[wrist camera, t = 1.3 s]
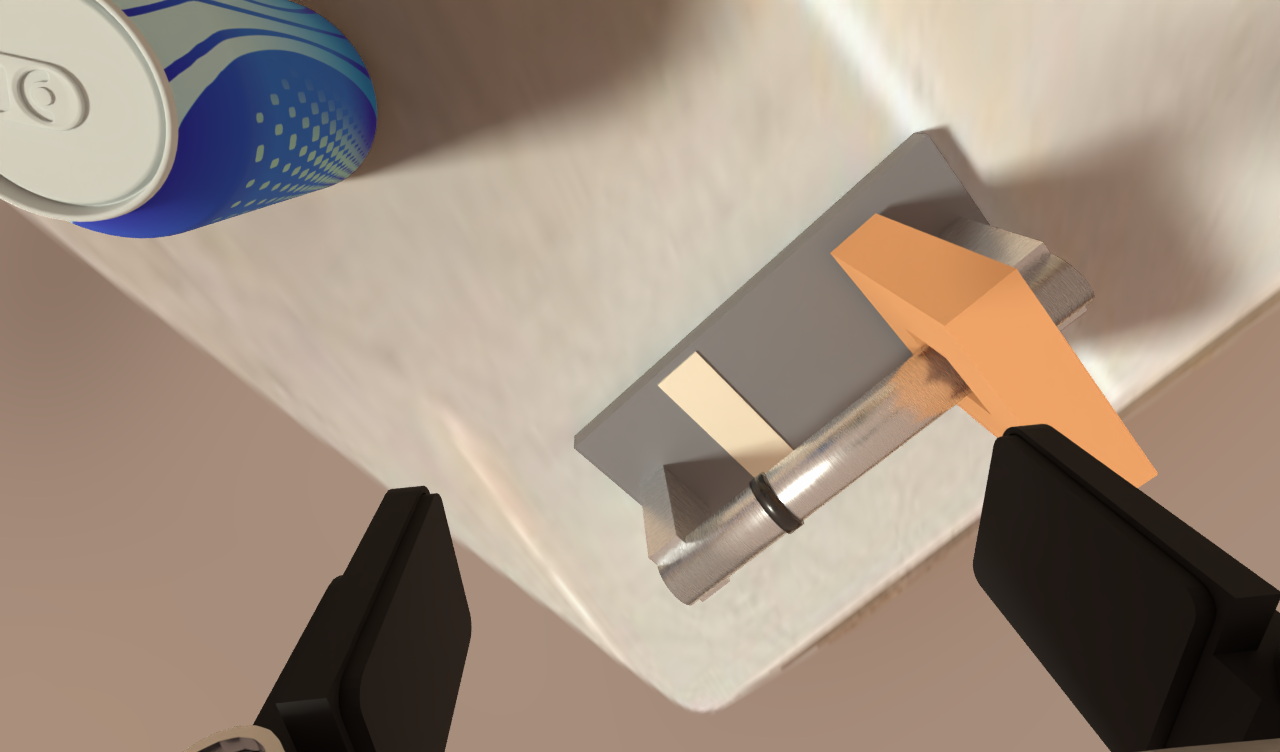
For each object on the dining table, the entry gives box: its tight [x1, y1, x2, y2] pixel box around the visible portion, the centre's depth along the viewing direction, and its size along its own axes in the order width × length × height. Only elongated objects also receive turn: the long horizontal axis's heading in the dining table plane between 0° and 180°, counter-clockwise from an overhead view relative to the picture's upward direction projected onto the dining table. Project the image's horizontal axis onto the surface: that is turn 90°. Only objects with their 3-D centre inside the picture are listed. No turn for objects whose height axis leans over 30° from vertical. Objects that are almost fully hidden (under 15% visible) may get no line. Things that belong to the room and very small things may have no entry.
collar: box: [830, 213, 1158, 488], centre depth 30 cm, size 3×12×12 cm, turn 43°
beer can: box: [0, 0, 377, 238], centre depth 24 cm, size 8×8×16 cm
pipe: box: [640, 216, 1094, 605], centre depth 34 cm, size 24×4×9 cm, turn 133°
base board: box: [574, 133, 990, 516], centre depth 38 cm, size 26×14×2 cm, turn 133°
